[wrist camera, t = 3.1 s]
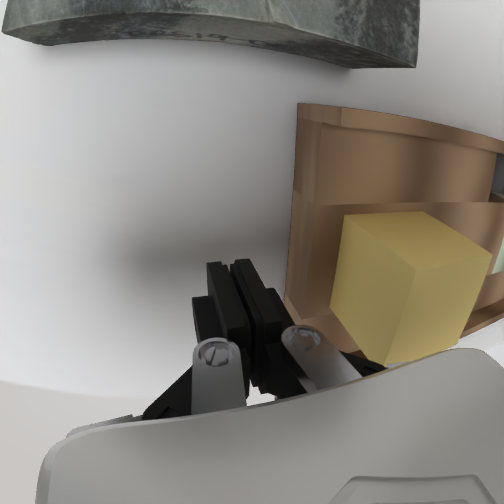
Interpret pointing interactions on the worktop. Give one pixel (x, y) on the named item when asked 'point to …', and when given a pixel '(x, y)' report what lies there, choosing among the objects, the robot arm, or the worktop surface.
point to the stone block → (234, 25)
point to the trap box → (387, 200)
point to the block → (405, 284)
